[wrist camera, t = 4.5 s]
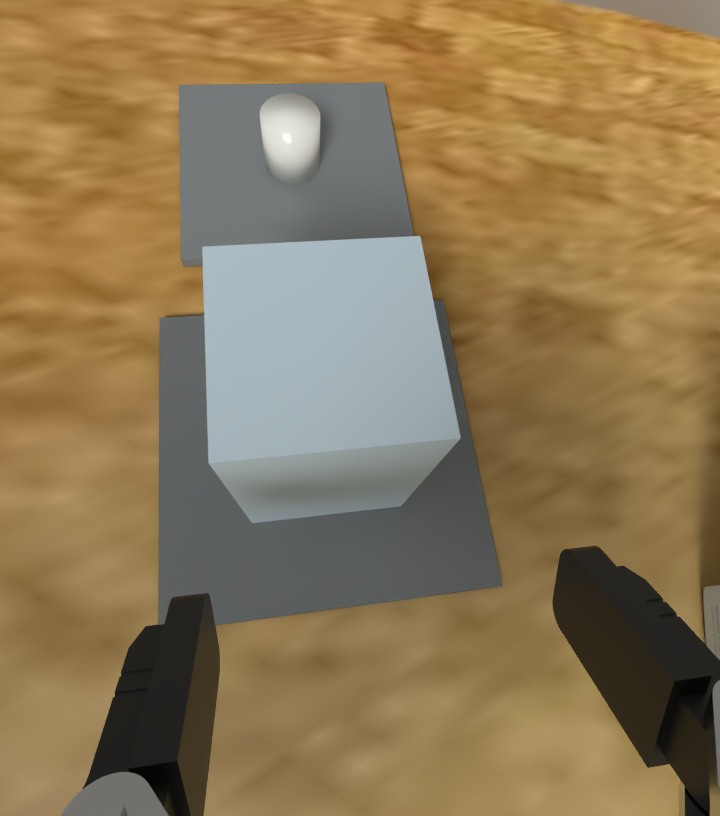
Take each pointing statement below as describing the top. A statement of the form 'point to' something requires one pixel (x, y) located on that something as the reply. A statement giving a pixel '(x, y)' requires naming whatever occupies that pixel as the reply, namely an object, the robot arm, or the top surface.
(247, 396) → the light gray block
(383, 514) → the mat
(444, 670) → the top surface
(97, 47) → the top surface
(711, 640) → the tea box
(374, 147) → the gray plate with knob
